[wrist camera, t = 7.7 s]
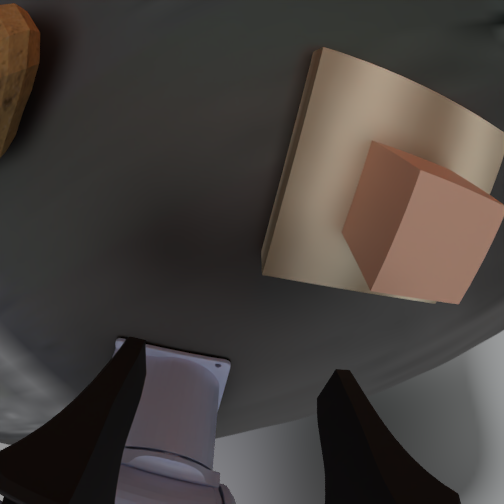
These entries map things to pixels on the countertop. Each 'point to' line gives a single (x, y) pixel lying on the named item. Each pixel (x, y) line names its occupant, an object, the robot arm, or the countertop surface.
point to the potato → (16, 68)
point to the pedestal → (360, 161)
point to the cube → (418, 226)
